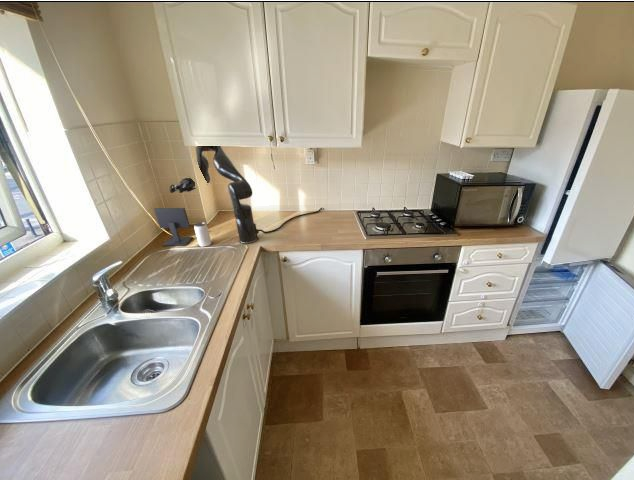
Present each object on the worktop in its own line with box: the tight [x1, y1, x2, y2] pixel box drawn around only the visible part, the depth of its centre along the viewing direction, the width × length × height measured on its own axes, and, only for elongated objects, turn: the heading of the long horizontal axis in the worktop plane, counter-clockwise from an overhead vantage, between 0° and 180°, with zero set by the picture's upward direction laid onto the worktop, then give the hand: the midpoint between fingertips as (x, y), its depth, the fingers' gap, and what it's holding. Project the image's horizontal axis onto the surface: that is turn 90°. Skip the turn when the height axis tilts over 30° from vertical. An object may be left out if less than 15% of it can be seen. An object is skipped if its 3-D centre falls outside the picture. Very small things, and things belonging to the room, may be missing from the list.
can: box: [193, 221, 212, 248], centre depth 154 cm, size 6×6×12 cm
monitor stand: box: [162, 222, 194, 247], centre depth 156 cm, size 10×12×12 cm
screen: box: [153, 207, 191, 229], centre depth 153 cm, size 1×16×11 cm, turn 91°
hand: (175, 191), depth 156 cm, fingers open, 4 cm apart
